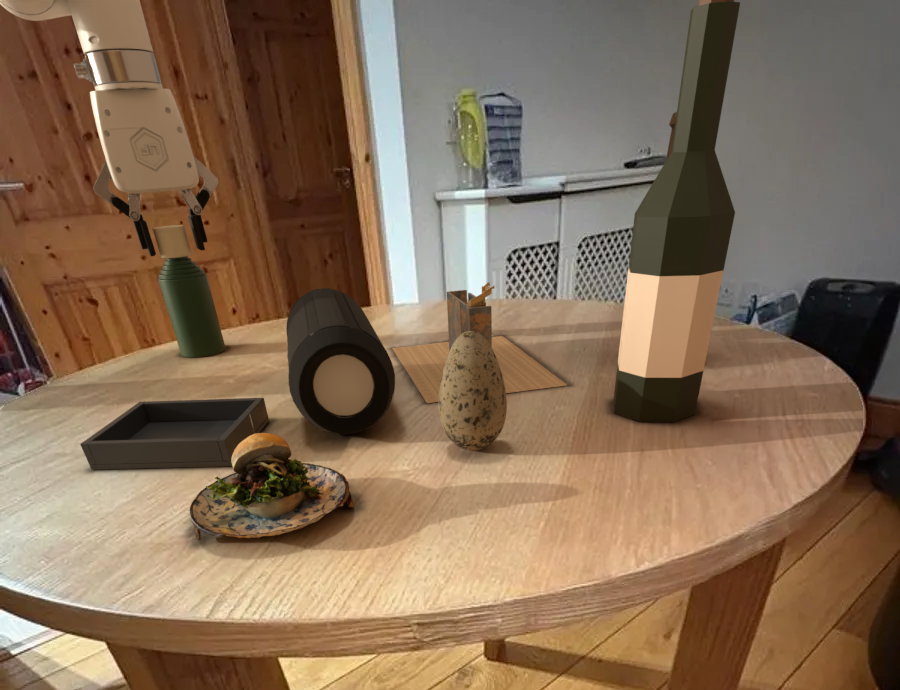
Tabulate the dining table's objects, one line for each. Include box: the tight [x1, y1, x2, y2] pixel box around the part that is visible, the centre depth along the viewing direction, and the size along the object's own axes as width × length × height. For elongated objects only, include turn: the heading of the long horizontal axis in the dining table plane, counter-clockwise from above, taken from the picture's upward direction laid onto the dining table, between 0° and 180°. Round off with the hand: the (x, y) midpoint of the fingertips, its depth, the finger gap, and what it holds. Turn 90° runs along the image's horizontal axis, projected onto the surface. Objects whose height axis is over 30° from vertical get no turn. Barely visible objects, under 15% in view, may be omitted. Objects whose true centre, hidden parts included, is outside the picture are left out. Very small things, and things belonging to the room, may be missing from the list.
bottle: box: [157, 256, 227, 358], centre depth 84 cm, size 6×6×15 cm
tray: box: [79, 397, 270, 471], centre depth 58 cm, size 13×11×2 cm
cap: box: [152, 224, 192, 259], centre depth 80 cm, size 4×4×3 cm
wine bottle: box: [612, 0, 741, 423], centre depth 51 cm, size 8×8×30 cm
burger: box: [188, 410, 355, 541], centre depth 44 cm, size 12×12×8 cm
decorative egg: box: [438, 331, 508, 451], centre depth 51 cm, size 6×6×10 cm
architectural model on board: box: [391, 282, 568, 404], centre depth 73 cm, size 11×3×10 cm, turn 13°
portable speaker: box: [285, 287, 396, 436], centre depth 63 cm, size 26×10×10 cm, turn 13°
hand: (176, 250), depth 81 cm, fingers open, 5 cm apart
